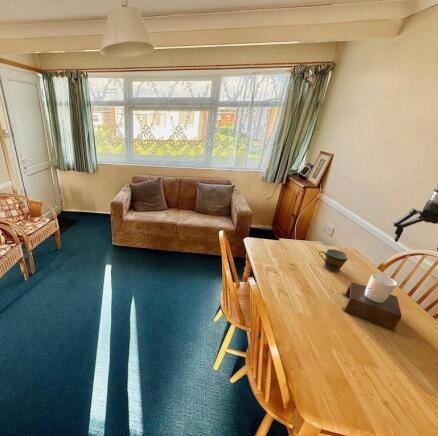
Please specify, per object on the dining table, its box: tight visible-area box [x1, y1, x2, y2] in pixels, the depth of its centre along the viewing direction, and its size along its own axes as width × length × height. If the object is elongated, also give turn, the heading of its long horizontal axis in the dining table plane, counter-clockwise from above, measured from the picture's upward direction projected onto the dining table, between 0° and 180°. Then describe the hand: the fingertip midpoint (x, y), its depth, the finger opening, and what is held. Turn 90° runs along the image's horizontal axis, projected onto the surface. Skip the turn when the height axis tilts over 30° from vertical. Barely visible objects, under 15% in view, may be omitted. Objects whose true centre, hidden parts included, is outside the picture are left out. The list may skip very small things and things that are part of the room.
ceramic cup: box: [318, 248, 349, 273], centre depth 131 cm, size 13×10×10 cm
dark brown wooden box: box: [343, 281, 403, 331], centre depth 103 cm, size 16×14×8 cm
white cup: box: [364, 273, 398, 303], centre depth 99 cm, size 8×8×10 cm
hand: (416, 245), depth 105 cm, fingers open, 13 cm apart
